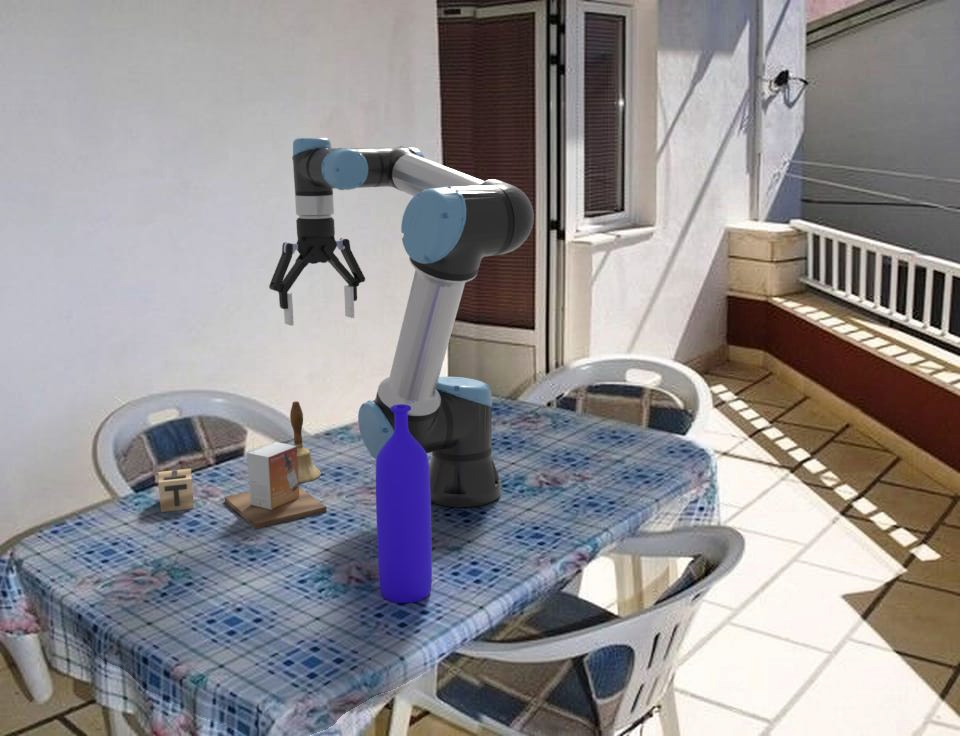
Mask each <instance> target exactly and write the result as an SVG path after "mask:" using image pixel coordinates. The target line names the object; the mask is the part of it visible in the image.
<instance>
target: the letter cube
mask: <svg viewBox="0 0 960 736" xmlns="http://www.w3.org/2000/svg"><path fill="white" fill-rule="evenodd" d="M157 472H158V473H157V474H158V479H157V480H158V491H159V492H158V494H159V503H160V504H159V505H160V513H164V512H165V513H166V512H172V511H181V510H189V509H195V504H194V501H195V500H194V491H193V477H192V468H183V469H174V470H166V471H157Z"/></svg>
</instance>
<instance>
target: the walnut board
mask: <svg viewBox="0 0 960 736" xmlns="http://www.w3.org/2000/svg"><path fill="white" fill-rule="evenodd" d="M224 502H225V503H226V505H228V506H229V507H230V508H232V509H233V510H234V511H235V513H236V514H238V515H240V516H241V517H242V518H243V519H244V520H245V521H246V522H247V523H248V524H250V525H251V526H252V527H253V528H254V529H259V528H265V527H269V526H273V525H276V524H277V525H278V524H280V523H284V522H285V523H286V522H289V521H293V520H298V519H301V518H305V517H309V516H310V517H311V516H314V515H318V514H322V513H327V511H328V510H327V505H325V504H324V503H322V502H320V500H318V499H316V498H315V497H313V496H312V495H311V494H309V492H307V491H305V490H304V489H303V488H301V487H300V486H299V498H298V499H295V500H292V501H290V502H287V503H285V504H283V505H281V506H278V507H276V508H274V509H272V510H269V509H265V508H261V507H257V506H254V505H251V504H250V492H249V491H245V492H239V493H236V494H230V495H227V496H224Z"/></svg>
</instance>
